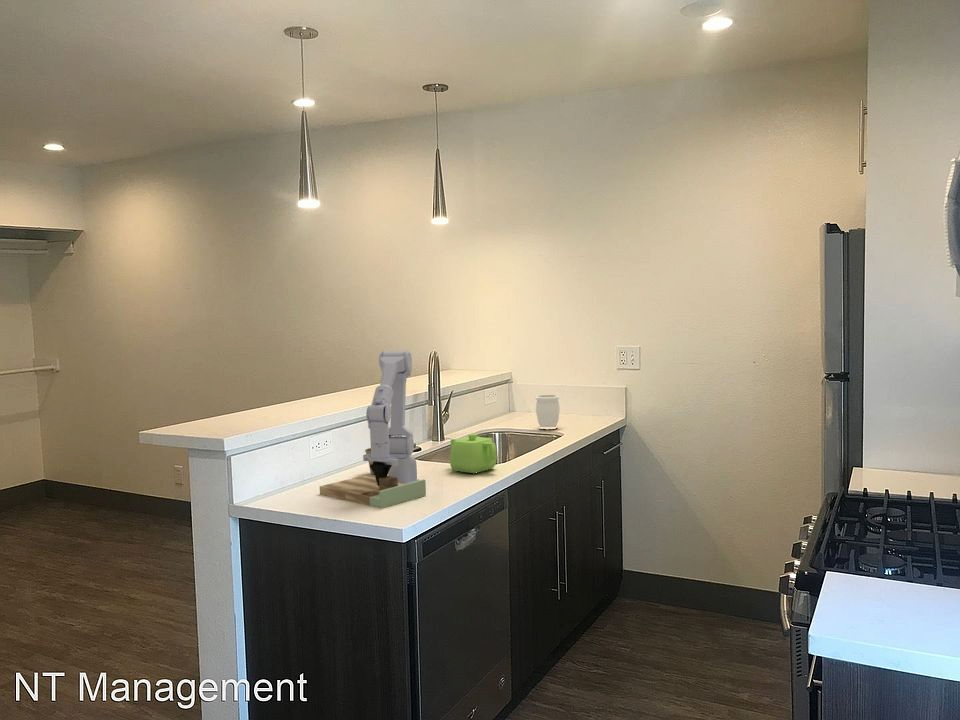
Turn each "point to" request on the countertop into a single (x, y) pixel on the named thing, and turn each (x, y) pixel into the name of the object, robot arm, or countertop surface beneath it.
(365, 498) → the box
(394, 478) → the walnut block
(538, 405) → the jar
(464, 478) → the countertop surface
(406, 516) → the countertop surface
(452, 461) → the teapot
